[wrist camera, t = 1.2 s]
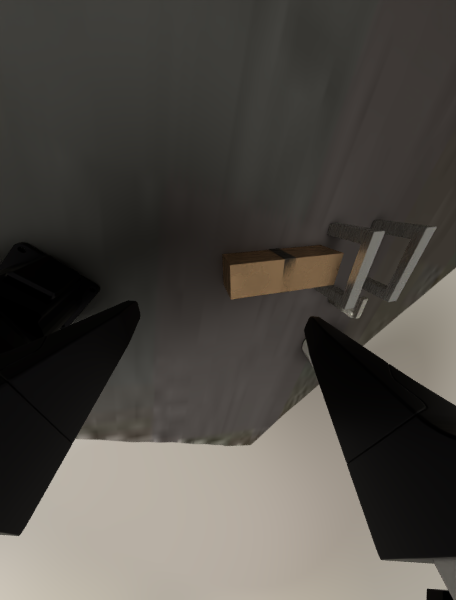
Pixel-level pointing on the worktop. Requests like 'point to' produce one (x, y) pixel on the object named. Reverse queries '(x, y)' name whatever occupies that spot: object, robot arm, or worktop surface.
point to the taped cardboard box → (279, 270)
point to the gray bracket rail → (365, 257)
